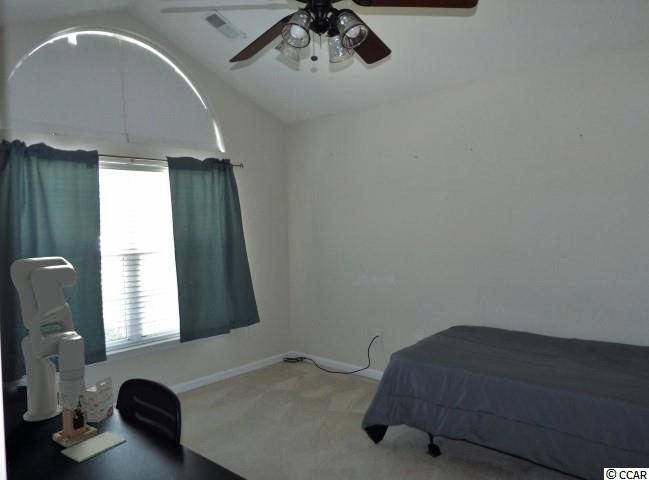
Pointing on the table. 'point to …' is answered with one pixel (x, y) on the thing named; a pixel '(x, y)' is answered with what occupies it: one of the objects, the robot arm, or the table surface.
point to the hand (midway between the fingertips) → (74, 425)
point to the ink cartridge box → (100, 400)
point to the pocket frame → (75, 440)
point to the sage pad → (93, 446)
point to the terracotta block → (71, 424)
